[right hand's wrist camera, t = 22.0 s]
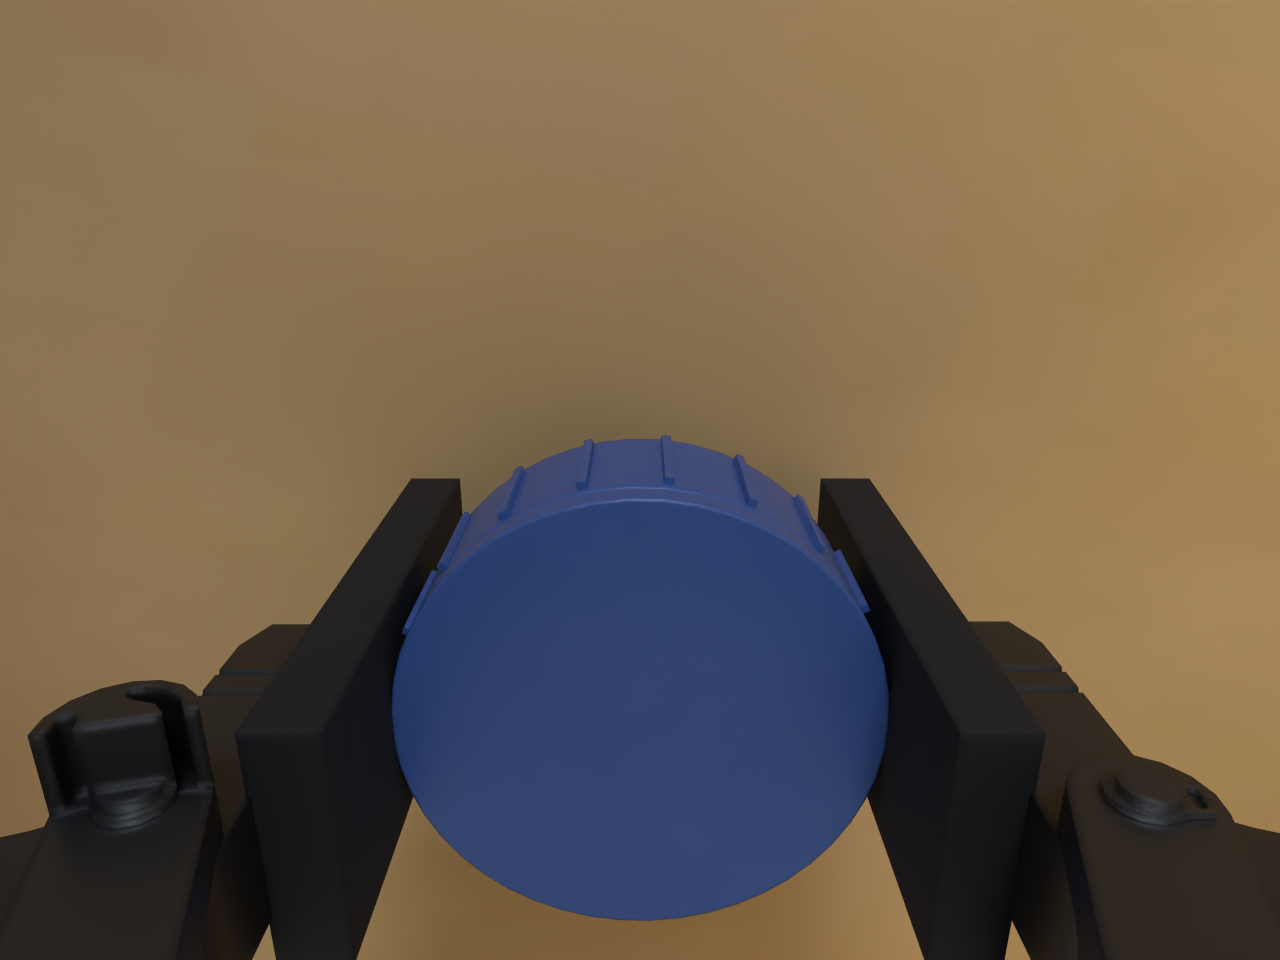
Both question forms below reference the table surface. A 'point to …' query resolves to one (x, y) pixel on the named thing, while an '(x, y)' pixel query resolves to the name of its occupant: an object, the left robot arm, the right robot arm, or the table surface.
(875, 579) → the right robot arm
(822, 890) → the table surface
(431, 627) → the lid
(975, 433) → the table surface
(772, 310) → the table surface
